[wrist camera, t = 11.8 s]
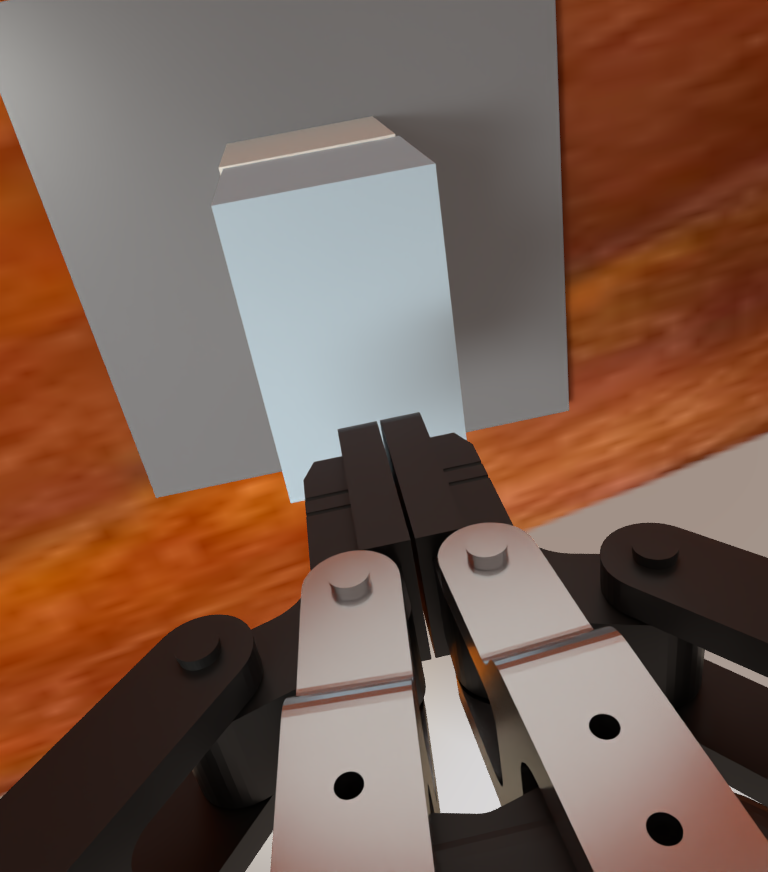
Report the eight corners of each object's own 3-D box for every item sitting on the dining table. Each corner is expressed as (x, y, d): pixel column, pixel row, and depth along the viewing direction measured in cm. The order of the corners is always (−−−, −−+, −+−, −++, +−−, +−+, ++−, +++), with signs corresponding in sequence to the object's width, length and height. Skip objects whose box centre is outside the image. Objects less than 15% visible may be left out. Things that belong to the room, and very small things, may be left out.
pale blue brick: (222, 168, 20) (211, 205, 16) (399, 135, 20) (435, 163, 16) (286, 418, 24) (290, 503, 20) (432, 388, 24) (469, 465, 20)
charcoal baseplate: (-22, 8, 22) (-33, 7, 22) (541, -92, 23) (551, -97, 22) (159, 484, 31) (156, 497, 31) (560, 400, 32) (569, 410, 31)
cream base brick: (226, 143, 24) (218, 167, 20) (372, 116, 25) (395, 133, 20) (280, 359, 28) (283, 418, 24) (405, 333, 29) (430, 387, 24)
